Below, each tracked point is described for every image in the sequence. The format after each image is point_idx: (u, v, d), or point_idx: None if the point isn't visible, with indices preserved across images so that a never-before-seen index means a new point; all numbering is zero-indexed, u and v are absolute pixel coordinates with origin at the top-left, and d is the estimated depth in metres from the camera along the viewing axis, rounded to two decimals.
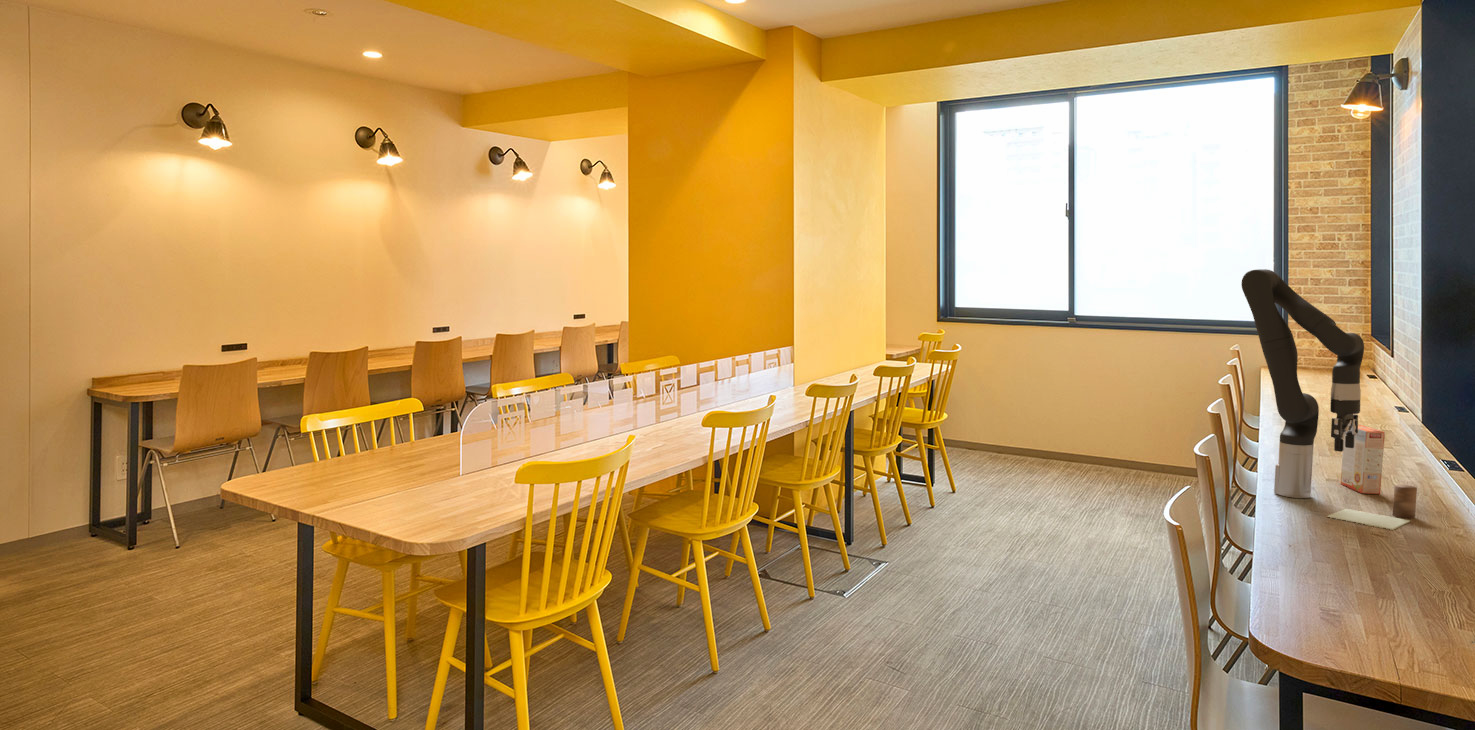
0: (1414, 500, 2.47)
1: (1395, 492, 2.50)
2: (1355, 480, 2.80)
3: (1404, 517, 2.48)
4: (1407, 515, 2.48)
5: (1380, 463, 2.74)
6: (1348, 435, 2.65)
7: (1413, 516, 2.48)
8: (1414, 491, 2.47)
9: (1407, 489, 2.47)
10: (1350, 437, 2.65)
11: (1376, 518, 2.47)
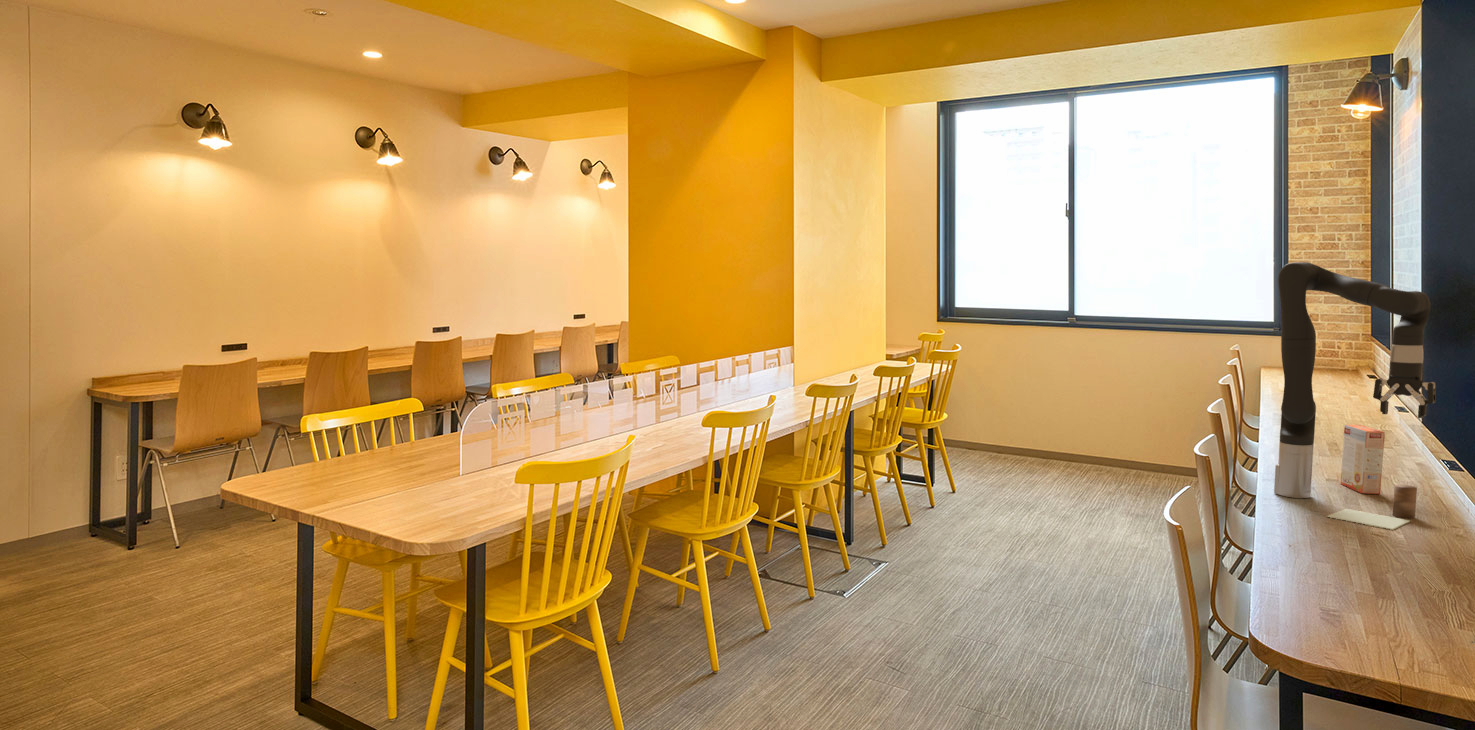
0: (1414, 500, 2.47)
1: (1395, 492, 2.50)
2: (1355, 480, 2.80)
3: (1404, 517, 2.48)
4: (1407, 515, 2.48)
5: (1380, 463, 2.74)
6: (1386, 401, 2.49)
7: (1413, 516, 2.48)
8: (1414, 491, 2.47)
9: (1407, 489, 2.47)
10: (1387, 402, 2.49)
11: (1376, 518, 2.47)
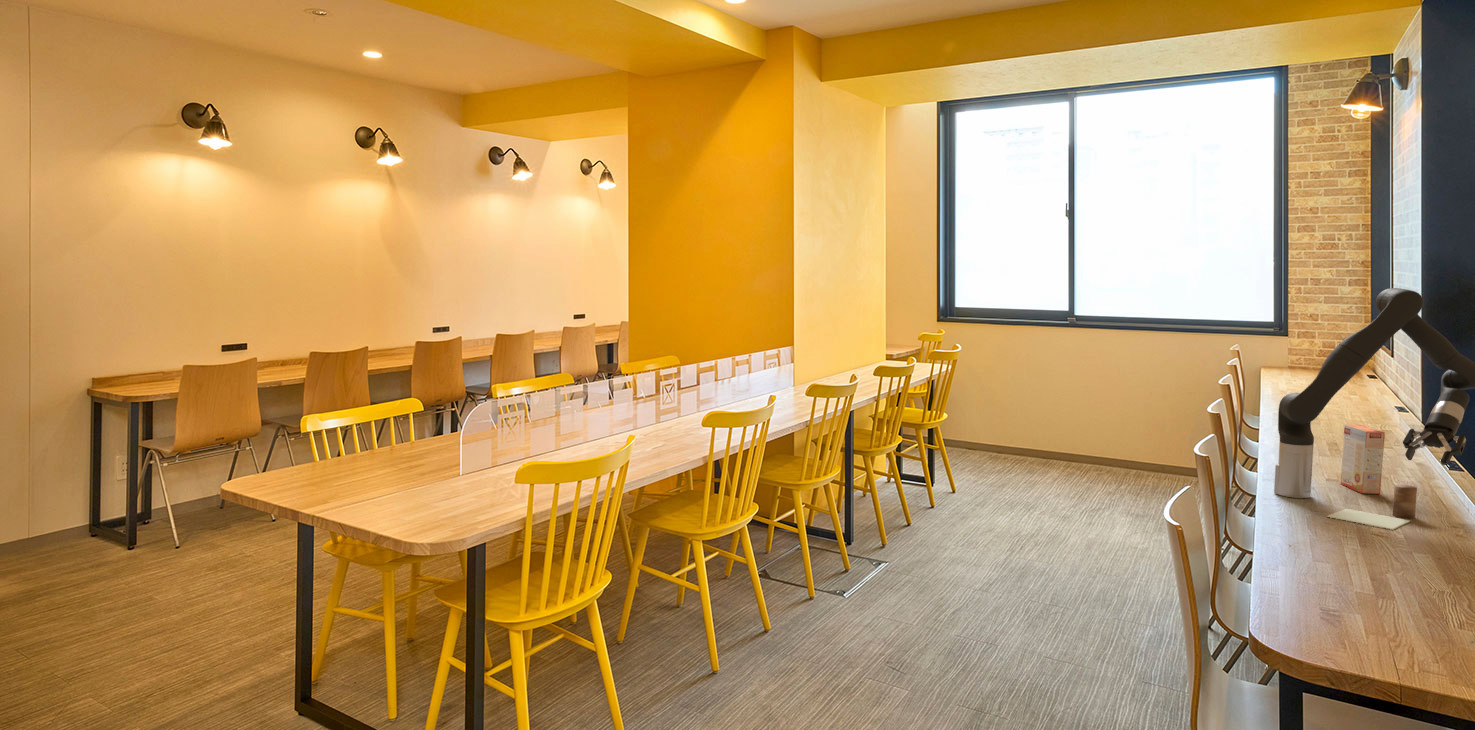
0: (1414, 500, 2.47)
1: (1395, 492, 2.50)
2: (1355, 480, 2.80)
3: (1404, 517, 2.48)
4: (1407, 515, 2.48)
5: (1380, 463, 2.74)
6: (1414, 448, 2.59)
7: (1413, 516, 2.48)
8: (1414, 491, 2.47)
9: (1407, 489, 2.47)
10: (1414, 450, 2.59)
11: (1376, 518, 2.47)
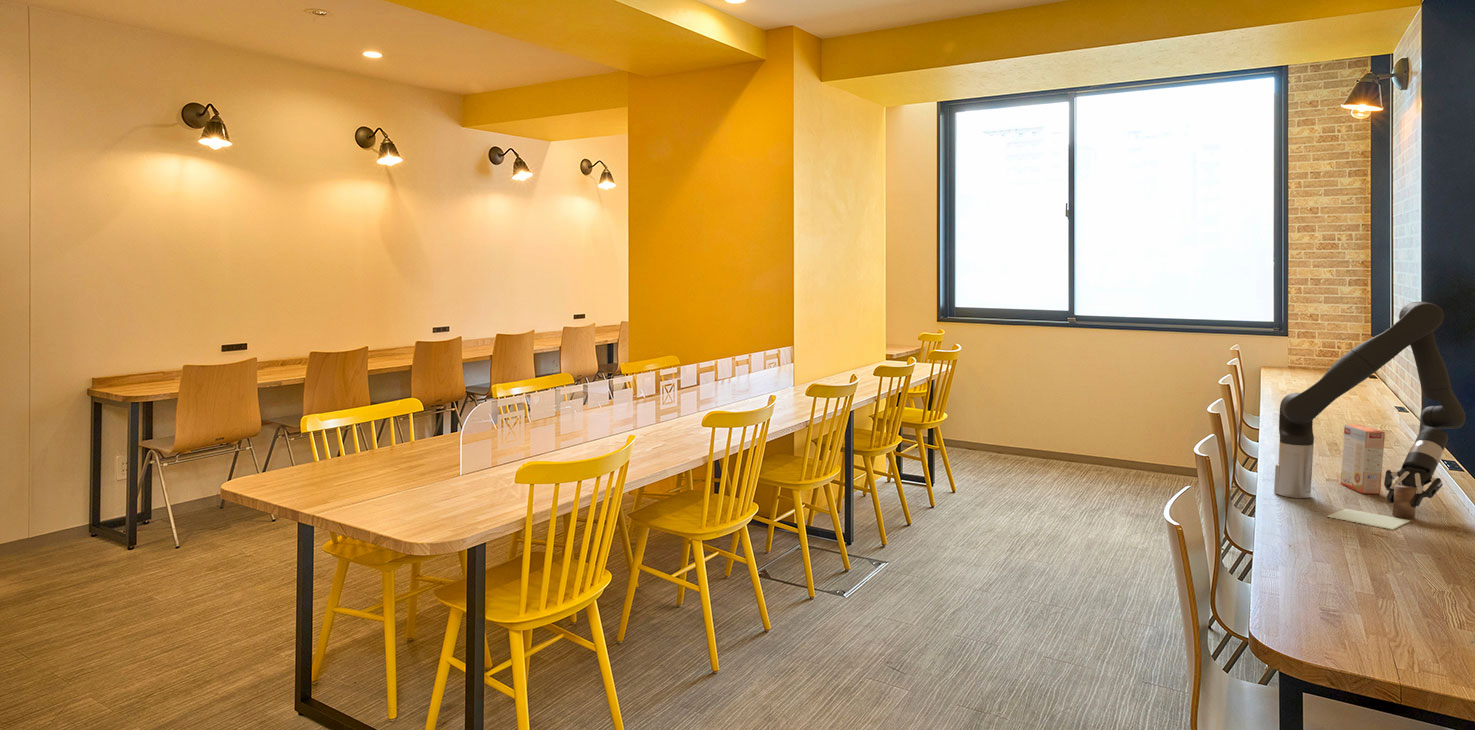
0: None
1: (1395, 492, 2.50)
2: (1355, 480, 2.80)
3: (1404, 517, 2.48)
4: (1407, 515, 2.48)
5: (1380, 463, 2.74)
6: None
7: (1413, 516, 2.48)
8: (1414, 491, 2.47)
9: (1407, 489, 2.47)
10: None
11: (1376, 518, 2.47)
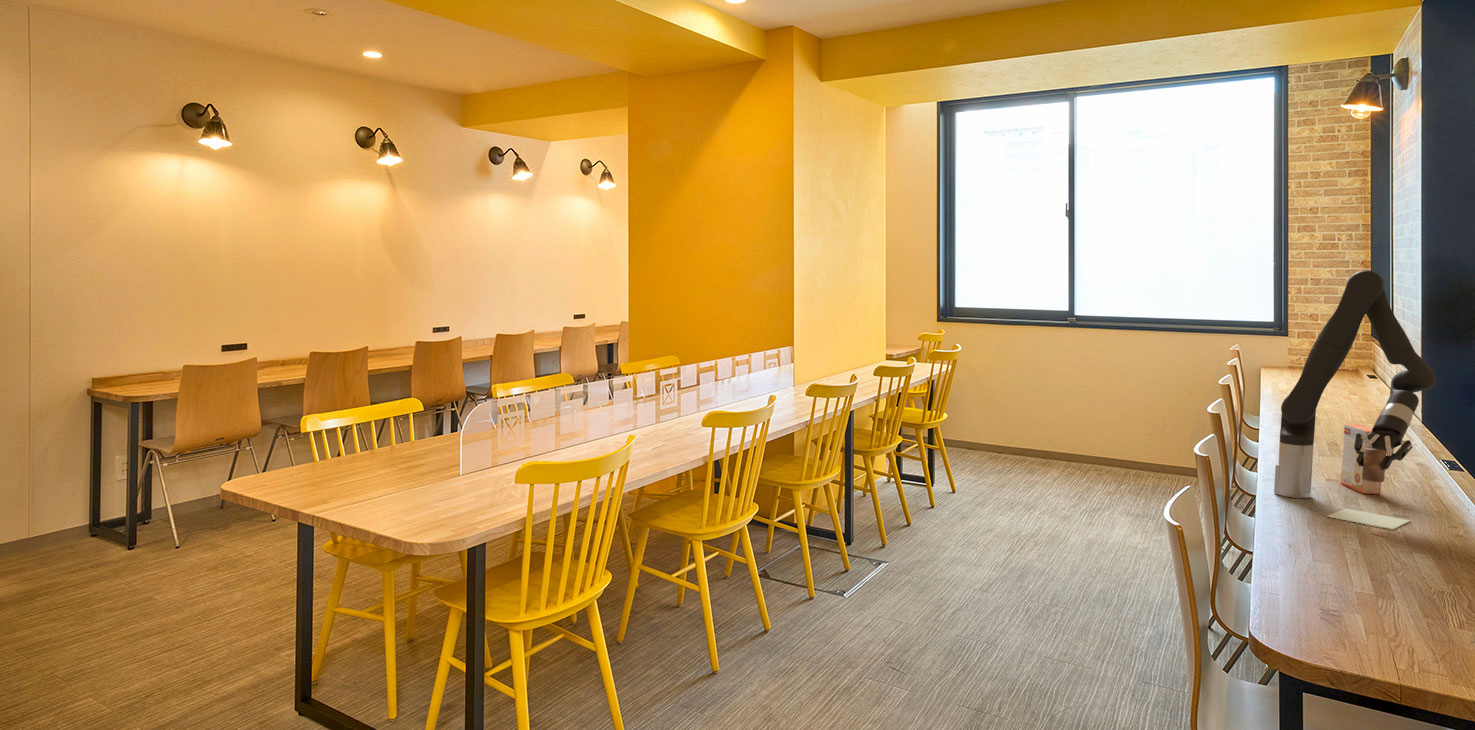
0: None
1: (1365, 455, 2.46)
2: (1355, 480, 2.80)
3: (1373, 480, 2.44)
4: (1376, 478, 2.44)
5: None
6: None
7: (1382, 479, 2.44)
8: (1384, 453, 2.43)
9: (1376, 451, 2.43)
10: None
11: (1376, 518, 2.47)
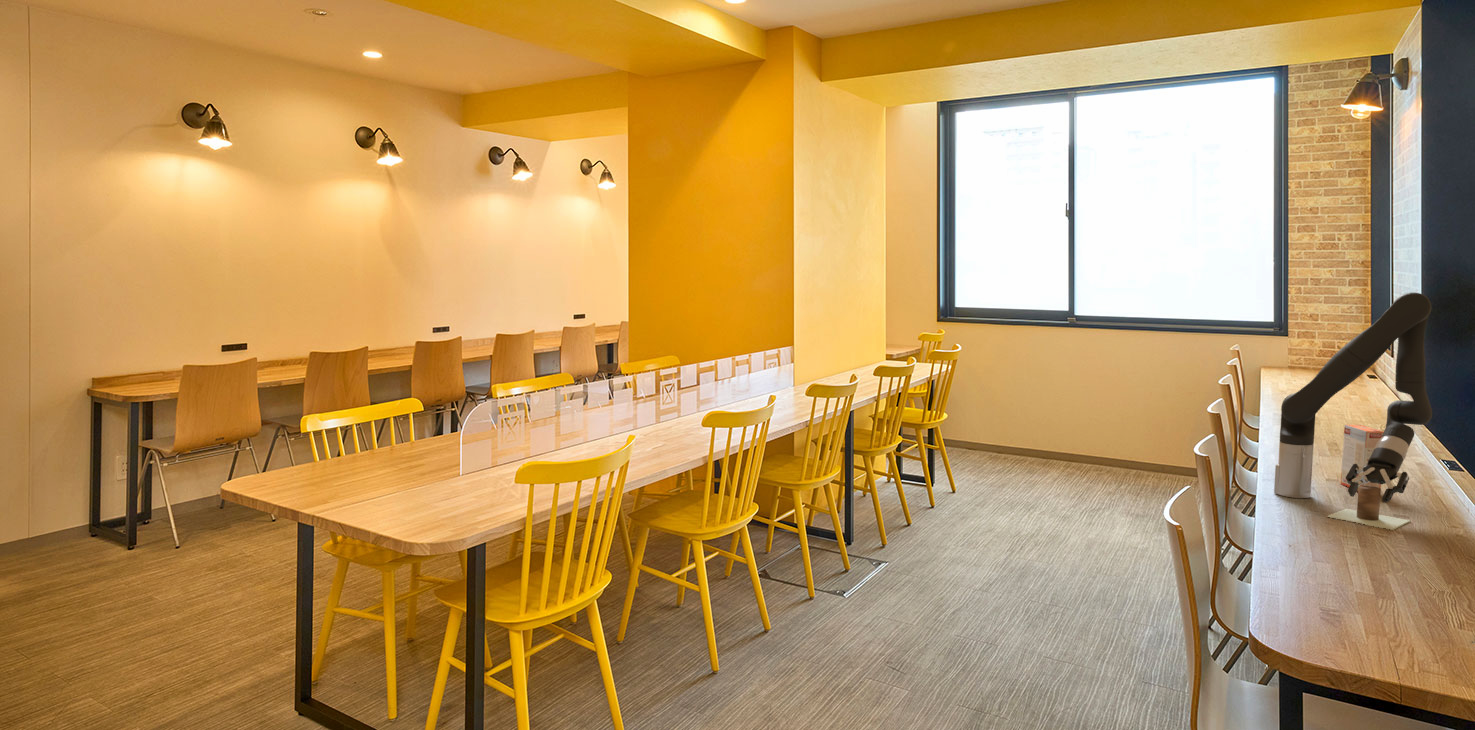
0: (1378, 501, 2.44)
1: (1359, 493, 2.47)
2: None
3: (1368, 518, 2.45)
4: (1371, 517, 2.45)
5: None
6: (1356, 484, 2.50)
7: (1377, 517, 2.45)
8: (1378, 492, 2.44)
9: (1371, 490, 2.44)
10: (1356, 486, 2.50)
11: None
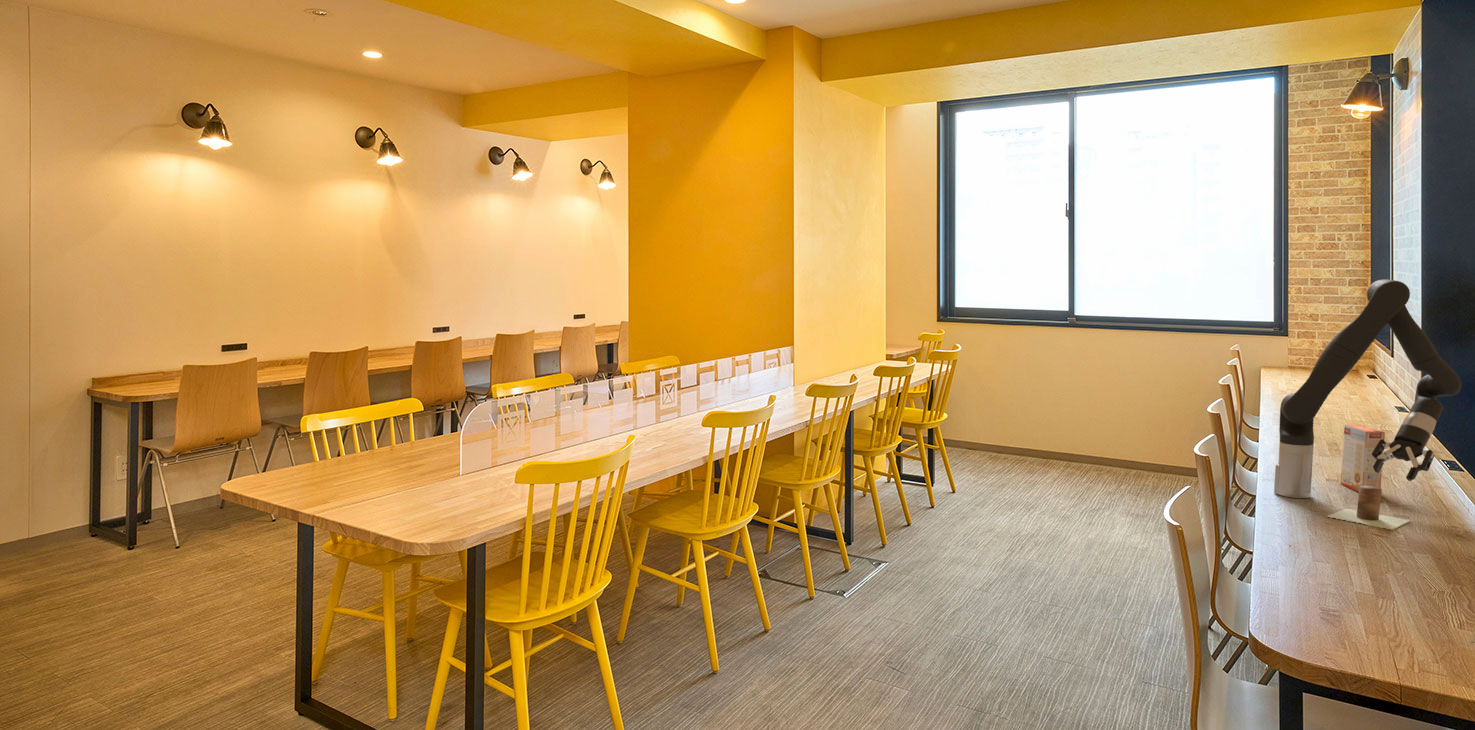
0: (1378, 501, 2.44)
1: (1360, 493, 2.47)
2: (1355, 480, 2.80)
3: (1368, 518, 2.45)
4: (1371, 517, 2.45)
5: None
6: (1382, 460, 2.58)
7: (1377, 517, 2.45)
8: (1379, 492, 2.44)
9: (1372, 490, 2.44)
10: (1382, 463, 2.58)
11: None
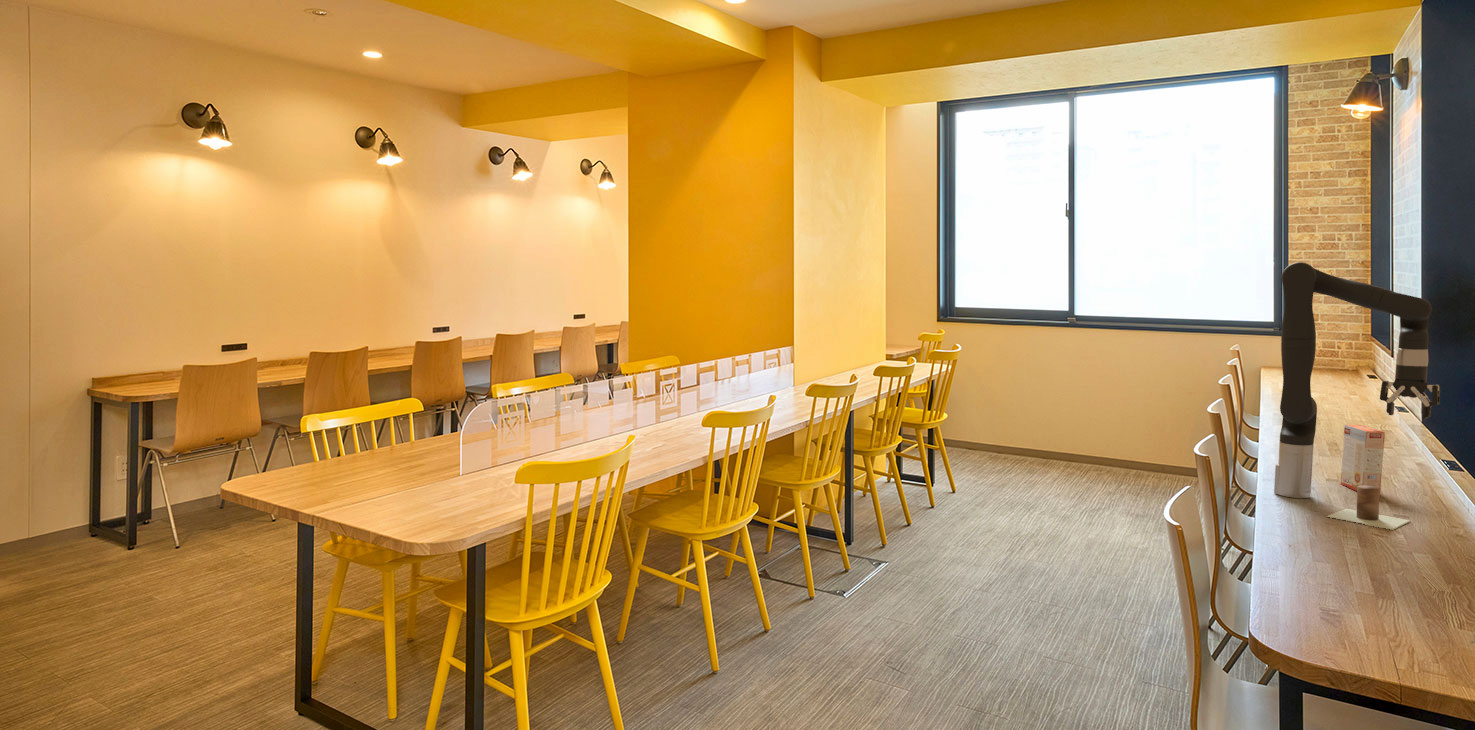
0: (1377, 501, 2.44)
1: (1358, 493, 2.47)
2: (1355, 480, 2.80)
3: (1369, 518, 2.45)
4: (1371, 517, 2.45)
5: (1380, 463, 2.74)
6: (1392, 402, 2.60)
7: (1377, 517, 2.45)
8: (1377, 492, 2.44)
9: (1370, 490, 2.44)
10: (1393, 404, 2.61)
11: None
